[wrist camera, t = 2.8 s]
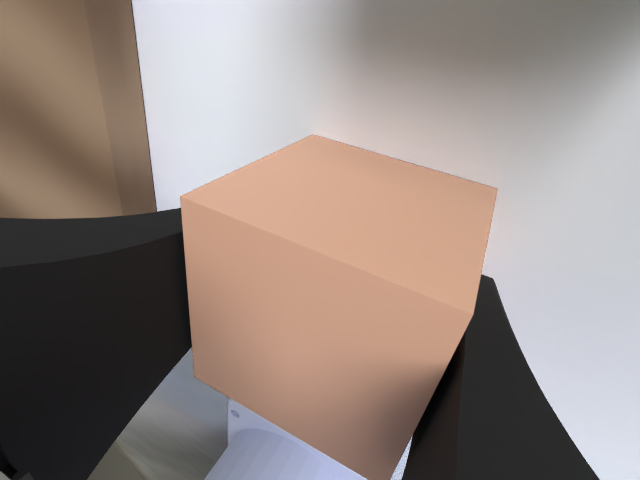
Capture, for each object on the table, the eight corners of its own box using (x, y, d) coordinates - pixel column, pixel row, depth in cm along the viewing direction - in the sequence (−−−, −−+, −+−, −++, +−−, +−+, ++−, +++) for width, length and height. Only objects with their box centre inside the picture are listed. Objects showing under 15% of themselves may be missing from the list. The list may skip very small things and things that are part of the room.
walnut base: (170, 326, 18) (146, 345, 17) (-2, 231, 23) (-30, 242, 22) (105, -206, 9) (40, -243, 8) (-173, -196, 13) (-243, -218, 12)
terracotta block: (433, 333, 11) (384, 490, 8) (294, 273, 13) (194, 377, 9) (497, 188, 9) (473, 314, 5) (312, 134, 10) (180, 196, 6)
